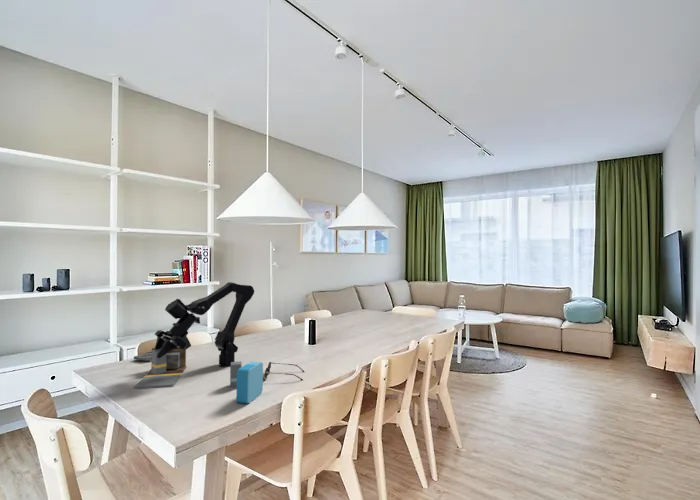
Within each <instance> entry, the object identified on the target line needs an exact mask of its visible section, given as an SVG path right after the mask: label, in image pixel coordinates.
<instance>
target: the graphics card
mask: <svg viewBox="0 0 700 500" xmlns="http://www.w3.org/2000/svg"><path fill="white" fill-rule="evenodd" d="M133 360H136V361H144V362H152V351H149V352H144V353H141V354H139V355H135V356H133Z"/></svg>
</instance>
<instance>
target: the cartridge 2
mask: <svg viewBox="0 0 700 500" xmlns="http://www.w3.org/2000/svg"><path fill="white" fill-rule="evenodd" d="M242 363H243V362H242V361H235V362H231V365H230V366H229V367H230V377H229V387H230V389H233V388H235V387H237V371H238V369H239V368H241V367H243V366H242Z"/></svg>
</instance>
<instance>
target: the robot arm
mask: <svg viewBox="0 0 700 500" xmlns="http://www.w3.org/2000/svg"><path fill="white" fill-rule="evenodd" d="M232 292H233V293H235V302H234V304H233V307H232V309H231V312H230V314H229V317H228V319H227V322H226V323H225V326H224V328H223V329H222V330H221V331H220V330H219V331H218V332H217V333H216V336H215V337H214V344H215V345H214V346H215V347H216V348H217V351H219V352H220V353H219V355H218V365H219V367H230V365H231V362H236V361H235V360H236V358H235V357H236V355H235V354H236V353H237V352H238V350H239V347H238V346H237V345H236V344H235V343H234V342H235V338H236V337H235V330H236V328H237V326H238V324H239V321H240V319H241V316H242V313H244V309H245V306H246V304H247V303H248V302H249V301H251V299H252V297H253V296H254V294H255V289H254V287H253V285H249V284H239V283H235V282H229V281H228V282H227V283H226V284H225V285H223V286H221V287H219V288H218V289H217V290H215V291H213V292H211V293H210V294H209V295H207V296H205V297H202V298H198V299H195V300H194V301H191V302H190V303H189V304H185V303H183V301H182V300H181V299H180V298H176V299H175V300H173V301H171V302H170V303H168V304H167V305H166V307H165V309H164V311H166V312H167V313H168V314H169V315H170V316H171V317H173V318H174V319H175V320H177V321H176V322H173V323H172V327H171V328H170V329H169V330H166V331H164V330H161V329H160V330H159V329H158V330H157V331H155V333H154V335H155V336H156V342H155V345H154V347H153V348H154V350H156V349H161V350H160V352H159V354H158V356H157V357H158V358H161V357H162V356H163V355H165V354H166V353H168V352H169V351H171V350H173V349H179V348H180V349H183V350H186V351H187V350H188V349H190V348H191V347H192V344H191V342H190V339H189V338H188V334H189V329H190V328H191V327H192V326H193V325H194V323H196V324H200V323H201V320H200V319H201V318H200V317H199V316H203V315H205V314H206V313H207V312H208V311H209V310H211V307H213V305H214V304H216V303H217V302H219V301H220V300H222V299H223V298H225V297H227V296H228V295H230V294H231V293H232ZM196 315H198V316H196ZM178 347H179V348H178Z"/></svg>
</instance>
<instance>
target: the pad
mask: <svg viewBox="0 0 700 500" xmlns="http://www.w3.org/2000/svg"><path fill="white" fill-rule="evenodd" d="M181 376H182V373H165V374H145V375H144V376H143V377H142V378H141V379H140V380H139V381H138V382H137V384H135V385H134V387H133V389H134V390H138V389H151V388H152V389H153V388H154V389H155V388H169V387H175V384H177V382H178V380H179V379H180V377H181Z"/></svg>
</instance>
